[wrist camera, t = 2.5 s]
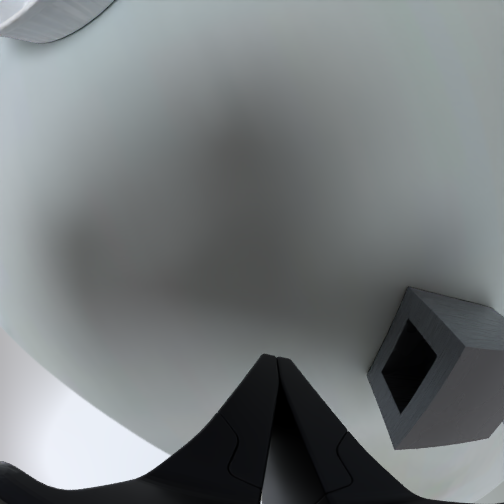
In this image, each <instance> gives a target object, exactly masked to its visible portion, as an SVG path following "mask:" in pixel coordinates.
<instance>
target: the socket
mask: <svg viewBox="0 0 504 504" xmlns="http://www.w3.org/2000/svg"><path fill="white" fill-rule="evenodd" d="M367 378H368V380H369V383H370V385H371V388H372V390H373V393H374V395H375V398H376V401H377V403H378V406H379V408H380V411H381V414H382V416H383V419H384V422H385V425H386V427H387V430H388V433H389V436H390V438H391V441H392V444H393V447H394V450H402V449H417V448H428V447H437V446H445V445H452V444H459V443H465V442H471V441H476V440H481V439H486V438H489V437H490V436H491V434H492V433H493V432H494V431H495V430H496V428H497V427H498V426H499V425H500V423H501V422H502V421H503V420H504V317H503V316H502V315H500V314H499V313H498V312H497V311H495V310H494V309H493V308H491V307H487V306H483V305H479V304H475V303H471V302H467V301H463V300H459V299H455V298H452V297H448V296H444V295H440V294H436V293H432V292H428V291H424V290H420V289H416V288H412V287H408V288H407V291H406V293H405V296H404V298H403V301H402V303H401V305H400V308H399V310H398V312H397V315H396V317H395V319H394V321H393V323H392V326H391V328H390V330H389V332H388V334H387V336H386V338H385V341H384V343H383V345H382V347H381V349H380V351H379V353H378V355H377V357H376V359H375V360H374V362H373V364H372V366H371V368H370V370H369V372H368V374H367Z"/></svg>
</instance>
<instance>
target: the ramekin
mask: <svg viewBox="0 0 504 504" xmlns="http://www.w3.org/2000/svg"><path fill="white" fill-rule="evenodd" d="M113 1H114V0H0V36H2V37H8V38H13V39H18V40H23V41H28V42H33V43H47V42H52V41H55V40H58V39H60V38H63V37H65V36H67V35H69V34H71V33H73V32H75V31H76V30H78V29H80V28H81V27H83V26H84V25H86V24H87V23H88V22H90V21H91V20H92V19H94V18H95V17H96V16H98V15H99V14H100V13H101V12H102V11H104V10H105V9H106V8H107V7H108V6H109V5H110V4H111V3H112V2H113Z"/></svg>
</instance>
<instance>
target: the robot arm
mask: <svg viewBox="0 0 504 504" xmlns="http://www.w3.org/2000/svg"><path fill="white" fill-rule="evenodd" d="M261 495H262V504H473V503H458V502H447V501H439V500H431V499H426V498H422V497H420V496H417V495H415V494H414V493H412V492H410V491H409V490H408V489H407V488H405V487H404V486H403V485H402V484H401V483H400V482H399V481H398V480H396V479H395V478H394V477H393V476H392V475H391V474H390V473H389V472H388V471H386V470H385V469H384V468H383V467H382V466H381V465H380V464H379V463H378V462H377V461H376V460H375V459H374V458H373V457H372V456H371V455H370V454H369V453H368V452H367V451H366V450H365V449H364V448H363V447H362V446H361V445H360V444H359V443H358V441H357V440H356V439H355V438H354V437H353V436H352V434H351V433H350V432H349V431H347V429H346V427H345V426H344V425H343V424H342V423H341V421H340V420H339V419H338V418H337V417H336V415H335V414H334V413H333V412H332V410H331V409H330V408H329V407H328V406H327V404H326V403H325V402H324V401H323V399H322V398H321V397H320V396H319V394H318V393H317V392H316V391H315V390H314V388H313V387H312V386H311V385H310V383H309V382H308V381H307V380H306V378H305V377H304V376H303V375H302V373H301V372H300V371H299V369H298V368H297V367H296V366H295V364H294V363H293V362H292V361H291V360H290V359H288V358H283V357H277V358H276V357H275V356H273V355H268V354H262V355H261V356H260V358H259V359H258V360H257V362H256V363H255V364H254V366H253V367H252V368H251V370H250V371H249V372H248V374H247V375H246V376H245V378H244V379H243V380H242V382H241V383H240V384H239V385H238V387H237V388H236V389H235V391H234V392H233V393H232V394H231V396H230V397H229V398H228V399H227V401H226V402H225V403H224V405H223V406H222V407H221V408H220V410H219V411H218V413H216V414H215V415H214V417H213V418H212V419H211V420H210V421H209V423H208V424H207V425H206V426H205V427H204V428H203V429H202V430H201V431H200V432H199V433H198V434H197V435H196V436H195V437H194V438H193V439H191V440H190V441H189V442H188V443H187V444H186V445H184V446H183V447H182V448H181V449H179V450H178V451H177V452H176V453H174V454H173V455H172V456H170V457H169V458H168V459H167V460H165V461H164V462H163V463H161V464H160V465H159V466H157V467H156V468H155V469H153V470H152V471H150V472H148V473H147V474H145V475H143V476H141V477H139V478H136V479H133V480H129V481H125V482H119V483H114V484H110V485H104V486H98V487H92V488H86V489H78V490H64V489H57V488H54V487H50V486H47V485H45V484H43V483H41V482H39V481H37V480H36V479H34V478H32V477H31V476H29V475H28V474H26V473H25V472H23V471H22V470H20V469H18V468H16V467H15V466H13V465H11V464H9V463H6V462H4V461H0V504H260V502H261ZM497 504H504V503H497Z"/></svg>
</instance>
